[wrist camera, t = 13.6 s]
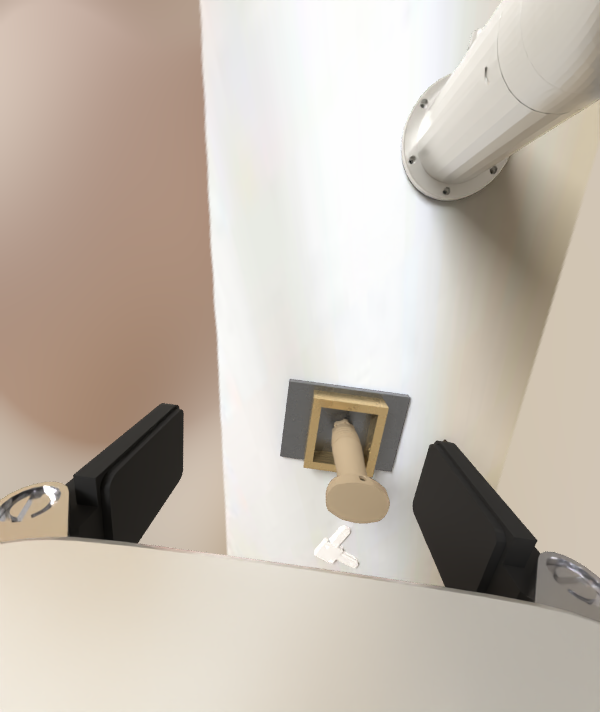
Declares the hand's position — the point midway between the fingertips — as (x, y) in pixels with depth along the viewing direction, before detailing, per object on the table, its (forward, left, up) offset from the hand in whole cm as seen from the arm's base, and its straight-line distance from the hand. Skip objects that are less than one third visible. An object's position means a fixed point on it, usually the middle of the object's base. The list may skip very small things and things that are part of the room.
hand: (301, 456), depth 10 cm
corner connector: (+39, +12, -31) cm, 51 cm away
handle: (+15, +7, -30) cm, 34 cm away
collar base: (+15, +7, -30) cm, 35 cm away
